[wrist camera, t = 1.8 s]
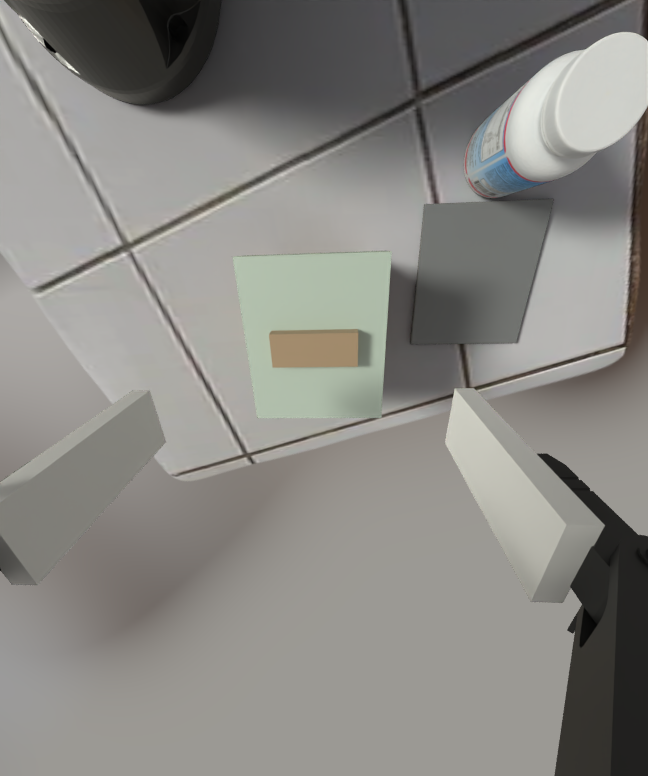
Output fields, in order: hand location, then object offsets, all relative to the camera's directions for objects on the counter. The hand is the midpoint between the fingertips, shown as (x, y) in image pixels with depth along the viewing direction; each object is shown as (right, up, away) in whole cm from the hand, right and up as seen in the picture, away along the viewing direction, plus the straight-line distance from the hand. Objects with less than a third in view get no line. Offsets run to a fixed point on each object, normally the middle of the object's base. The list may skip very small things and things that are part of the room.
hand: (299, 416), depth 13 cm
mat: (+16, +12, +16) cm, 26 cm away
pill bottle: (+16, +21, +12) cm, 29 cm away
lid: (+1, +5, +10) cm, 12 cm away
